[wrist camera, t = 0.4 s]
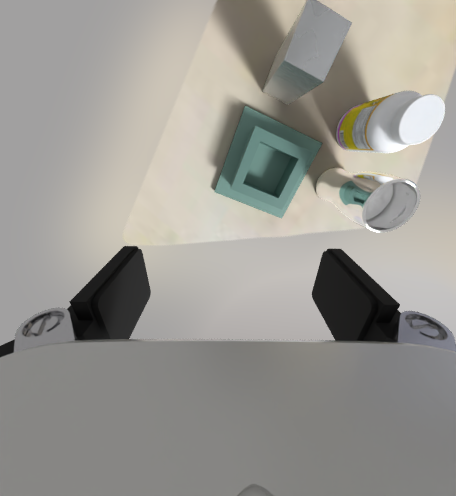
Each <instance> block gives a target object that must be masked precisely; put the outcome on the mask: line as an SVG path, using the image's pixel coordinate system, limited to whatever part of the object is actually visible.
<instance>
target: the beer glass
mask: <svg viewBox="0 0 456 496" xmlns="http://www.w3.org/2000/svg"><path fill="white" fill-rule="evenodd" d="M316 193H317V195H318V197H319V198H320V199H322V200H324V201H327V202H332V203H333V204H334V205H335V207H336V208H337V209H338V210H339V211H340V212H341V213H342V214H343V215H344V216H345V217H347V218H348V219H350V220H351V221H353V222H355V223H357V224H359V225H361V226H363V227H366V228H368V229H370V230H372V231H374V232H388V231H392V230H394V229H397V228H399V227H400V226H402V225H403V224H405V223H406V222H407V221H408V220H409V219H410V218H411V217H412V216H413V215H414V213H415V211H416V210H417V208H418V205H419V202H420V190H419V188H418V186H417V185H416V184H415V183H414V182H412V181H410V180H407V179H403V178H400V177H397V176H393V175H390V174H386V173H381V172H373V171H363V172H352V173H349V172H347V171H346V170H344V169H342V168H338V167H336V168H331V169H328V170H327V171H325V172H324V173H323V174H322V175H321V176H320V177H319V179H318V181H317V183H316Z"/></svg>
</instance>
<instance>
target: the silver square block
mask: <svg viewBox="0 0 456 496" xmlns="http://www.w3.org/2000/svg"><path fill="white" fill-rule="evenodd" d="M351 24H352V22H350V21H349V20H347V19H345V18H344V17H342V16H341V15H339V14H338V13H336V12H334V11H333V10H331V9H330V8H328V7H326V6H325V5H323V4H322V3H320V2H319V1H317V0H307V1H306V2H305V4H304V6H303V8H302V10H301V11H300V13H299V15H298V17H297V19H296V20H295V22H294V24H293V26H292V28H291V29H290V31H289V33H288V35H287V36H286V38H285V40H284V42H283V44H282V45H281V47H280V49H279V51H278V53H277V54H276V57H275V59H274V62H273V65H272V67H271V70H270V72H269V75H268V78H267V80H266V83H265V86H264V88H263V91H262V92H264V93H266V94H268V95H270V96H272V97H274V98H276V99H278V100H280V101H282V102H284V103H286V104H287V105H288V104H290V103H291V102H293V101H294V100H296V99H298V98H299V97H301V96H302V95H304V94H305V93H307V92H308V91H310V90H312V89H313V88H315V87H316V86H318V85H319V84H321V83H323V82H324V80H325V78H326V76H327V74H328V72H329V70H330V68H331V65H332V63H333V61H334V59H335V57H336V55H337V53H338V51H339V49H340V47H341V45H342V43H343V41H344V39H345V36H346V34H347V32H348V30H349V28H350V26H351Z"/></svg>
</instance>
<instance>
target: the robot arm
mask: <svg viewBox="0 0 456 496" xmlns="http://www.w3.org/2000/svg"><path fill="white" fill-rule="evenodd" d="M149 297H150V286H149V282H148V277H147V272H146V268H145V263H144V259H143V254H142V250H141V249H138V247H137V246H124V247H123V248H122V249H121V250H120V251H119V252H118V253H117V254H116V255H115V256H114V257H113V258H112V259H111V260H110V261H109V262H108V263H107V264H106V265H105V266H104V267H103V268H102V269H101V270H100V271H99V272H98V274H96V276H95V277H94V278H92V280H91V281H90V282H89V283H88V284H87V285H86V286H85V287H84V288H83V289H82V290H81V291H80V292H79V293H78V294H77V295H76V296H75V297H74V298H73V299H72V300H71V301H70V304H71V306H70V307H69V308H68V309H65V308H52V309H48V310H45V311H42V312H40V313H38V314H35V315H34V316H32V317H31V318H29V319H27V320H26V321H25V322H24V323H22V324H21V326H20V327H19V328H18V329H17V332H16V334H15V340H13V341H10V342H8V343H6V344H4V345H1V346H0V496H456V344H455V339H454V336H453V334H452V332H451V331H450V330H449V329H448V328H447V327H446V326H445V325H443V324H442V323H441V322H439V321H437V320H436V319H434V318H432V317H430V316H428V315H425V314H422V313H419V312H414V311H405V312H402V313H400V312H399V311H398V310H397V309H398V308H399V306H400V304H399V303H397V302H396V301H395V300H394V299H393V298H392V297H391V296H390V295H389V294H388V293H387V292H386V291H385V290H384V289H383V288H382V287H381V286H380V285H379V284H377V283H376V282H375V281H374V280H373V279H372V278H371V277H370V276H369V275H368V274H367V273H366V272H365V271H364V270H363V269H362V268H361V267H360V266H358V265H357V264H356V263H355V262H354V261H353V260H352V259H351V258H350V257H349V256H348V255H347V254H346V253H345V252H344V251H343V250H341V249H327V251H325V252H323V255H322V258H321V262H320V266H319V269H318V273H317V276H316V280H315V284H314V287H313V291H312V297H313V300H314V302H315V304H316V305H317V307H318V309H319V311H320V313H321V314H322V316H323V318H324V320H325V322H326V324H327V326H328V327H329V329H330V331H331V333H332V335H333V337H334V339H335V340H336V341H331V340H329V341H328V340H325V341H324V340H243V339H242V340H241V339H240V340H239V339H235V340H233V339H231V340H230V339H129V338H130V336H131V334H132V332H133V330H134V328H135V326H136V323H137V321H138V320H139V317H140V316H141V313H142V312H143V310H144V307H145V305H146V304H147V302H148V300H149Z"/></svg>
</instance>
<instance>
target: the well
mask: <svg viewBox="0 0 456 496" xmlns="http://www.w3.org/2000/svg"><path fill="white" fill-rule="evenodd" d="M321 145H322V143H321V142H319V141H317V140H315V139H312V138H310V137H308V136H306V135H304V134H302V133H300V132H298V131H296V130H294V129H292V128H290V127H288V126H286V125H284V124H282V123H280V122H278V121H276V120H274V119H272V118H270V117H267V116H265V115H263V114H261V113H259V112H257V111H255V110H253V109H251V108H249V107H247V106H245V107H244V110H243V113H242V116H241V118H240V121H239V124H238V127H237V130H236V132H235V135H234V138H233V141H232V144H231V147H230V149H229V152H228V155H227V158H226V161H225V163H224V166H223V169H222V172H221V175H220V177H219V180H218V183H217V186H216V189H215V192H216V193H219V194H221V195H224V196H226V197H229V198H231V199H234V200H236V201H239V202H241V203H244V204H246V205H249V206H252V207H254V208H257V209H259V210H262V211H264V212H267V213H269V214H272V215H274V216H277V217H279V218H282V217H283V215H284V213H285V211H286V210H287V208H288V206H289V204H290V202H291V200H292V199H293V197H294V195H295V193H296V191H297V189H298V187H299V186H300V184H301V182H302V180H303V178H304V176H305V175H306V173H307V171H308V169H309V167H310V165H311V163H312V162H313V160H314V158H315V156H316V154H317V152H318V151H319V149H320V147H321Z"/></svg>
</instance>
